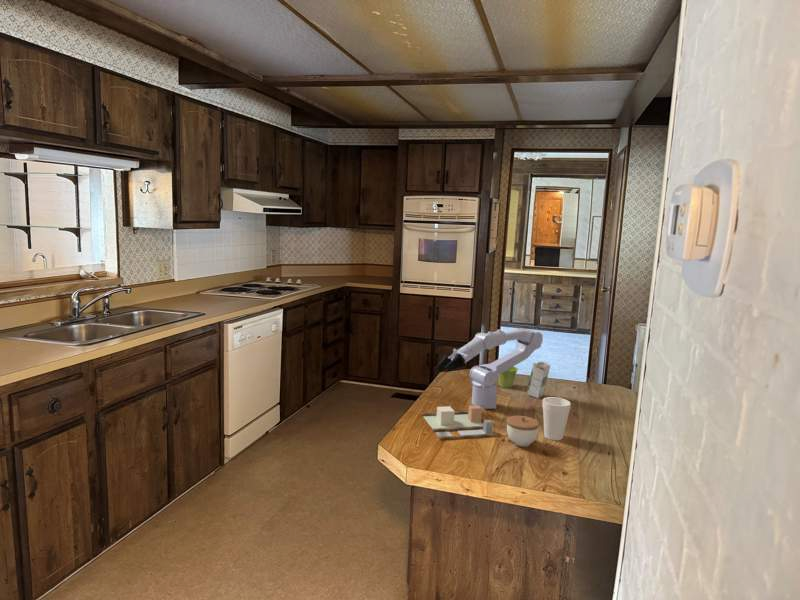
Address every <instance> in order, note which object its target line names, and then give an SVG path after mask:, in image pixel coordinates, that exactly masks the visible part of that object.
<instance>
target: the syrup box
mask: <svg viewBox="0 0 800 600" xmlns="http://www.w3.org/2000/svg"><path fill="white" fill-rule="evenodd" d="M550 370H551V365H550V364H549V363H547V362H544V361H542V360H538V361H536V362H534V363H532V368H531V372H530V376H529V380H528V385H527V389H526V393H525V394H526V395H528V396H530V397H533V398H536V399H539V398H541V397H543V395H544V394H545V390H546V385H547V381H548V377H549V373H550Z"/></svg>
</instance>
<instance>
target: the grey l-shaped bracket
mask: <svg viewBox="0 0 800 600" xmlns="http://www.w3.org/2000/svg"><path fill="white" fill-rule="evenodd" d="M483 424H484V425H483V429H474V430H457V433H458V434H459V436H460V435H476V434H491V433H493V427H494V422H493V420H491V419H483Z"/></svg>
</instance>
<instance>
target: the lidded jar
mask: <svg viewBox="0 0 800 600" xmlns="http://www.w3.org/2000/svg"><path fill="white" fill-rule="evenodd" d="M539 427H540V422H539V421H538V420H537V419H535V418H533V417H530V416H527V415H526V416H525V415H513V416H509V417H508V418H507V419H506V433H507V437H508V438H509V440H510V441H511V443H512V444H513V445H515V446H518V447H529V446H530V445H531V444H532V443H534V442H535V441H536V439H537V437H538V433H539Z"/></svg>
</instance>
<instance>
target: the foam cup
mask: <svg viewBox="0 0 800 600" xmlns="http://www.w3.org/2000/svg"><path fill="white" fill-rule="evenodd" d="M541 406H542V412H543V414H542V415H543V416H542V417H543V432H544V433H543V435H544V437H545V438H546V439H547V438H548V439H547V440H550V439H551V441H561V439H562V440H563V439H564V434H565V432H566V427H567V422H568V418H569V413H570V411H571V406H572V403H571V401H569V400H568V399H565V398H562V397H558V396H557V397H555V396H554V397H553V396H548V397H544V398H543V399H542V404H541Z"/></svg>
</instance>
